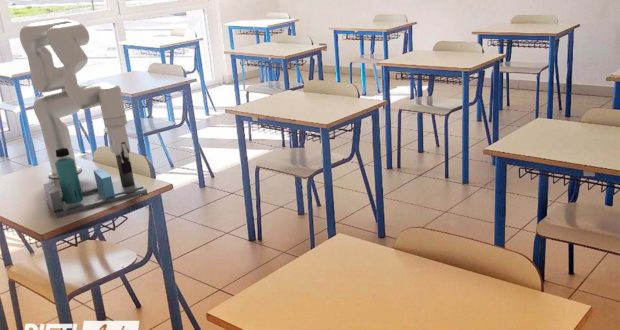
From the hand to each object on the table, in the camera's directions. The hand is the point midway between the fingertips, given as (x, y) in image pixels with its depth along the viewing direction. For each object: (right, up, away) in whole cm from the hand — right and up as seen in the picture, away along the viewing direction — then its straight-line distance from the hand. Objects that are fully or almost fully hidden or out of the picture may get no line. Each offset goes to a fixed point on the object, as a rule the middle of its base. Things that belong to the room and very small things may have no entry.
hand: (125, 170), depth 223 cm
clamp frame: (-9, -10, -3) cm, 13 cm away
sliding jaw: (-2, -7, +1) cm, 7 cm away
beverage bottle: (-15, -12, -7) cm, 20 cm away
